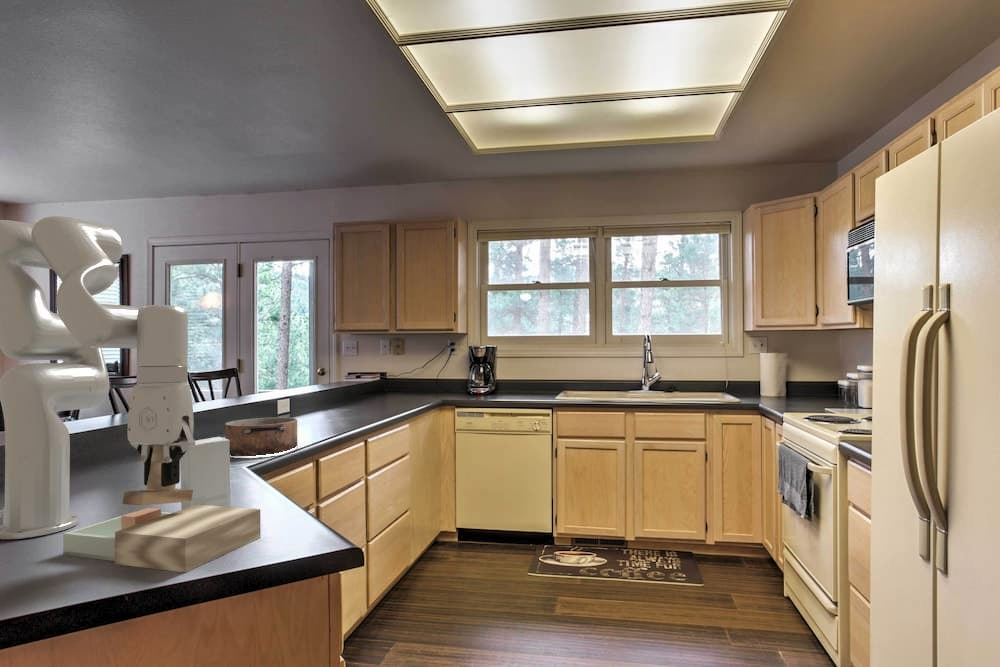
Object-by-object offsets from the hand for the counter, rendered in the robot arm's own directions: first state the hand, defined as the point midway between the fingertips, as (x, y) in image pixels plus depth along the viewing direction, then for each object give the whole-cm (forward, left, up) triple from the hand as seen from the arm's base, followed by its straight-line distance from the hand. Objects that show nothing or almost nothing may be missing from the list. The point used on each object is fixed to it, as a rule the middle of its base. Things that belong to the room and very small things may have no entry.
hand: (162, 483), depth 95 cm
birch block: (+7, 0, -11) cm, 13 cm away
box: (-7, 0, -11) cm, 13 cm away
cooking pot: (-48, +82, -11) cm, 95 cm away
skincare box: (-10, +20, -11) cm, 25 cm away
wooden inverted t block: (0, -1, -3) cm, 3 cm away
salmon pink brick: (-3, 0, -8) cm, 8 cm away
